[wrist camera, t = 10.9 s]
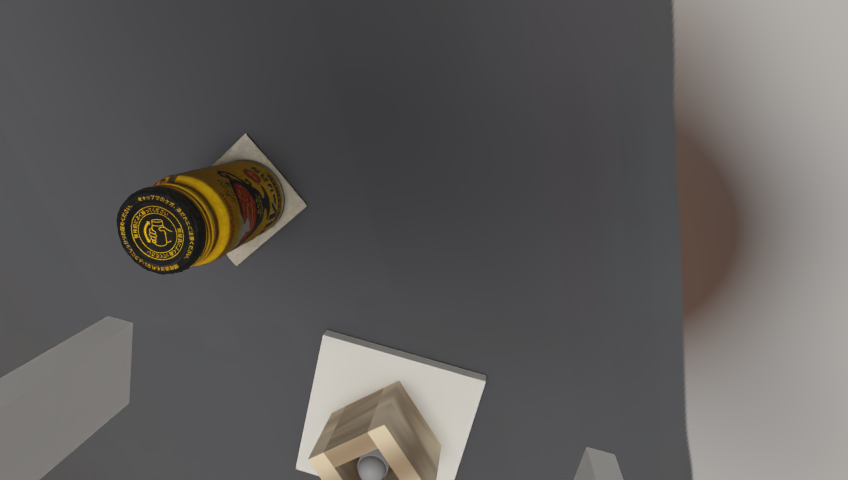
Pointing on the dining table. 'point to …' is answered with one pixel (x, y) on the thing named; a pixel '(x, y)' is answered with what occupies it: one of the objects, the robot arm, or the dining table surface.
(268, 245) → the dining table surface
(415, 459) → the wooden hollow block
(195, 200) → the condiment
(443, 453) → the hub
